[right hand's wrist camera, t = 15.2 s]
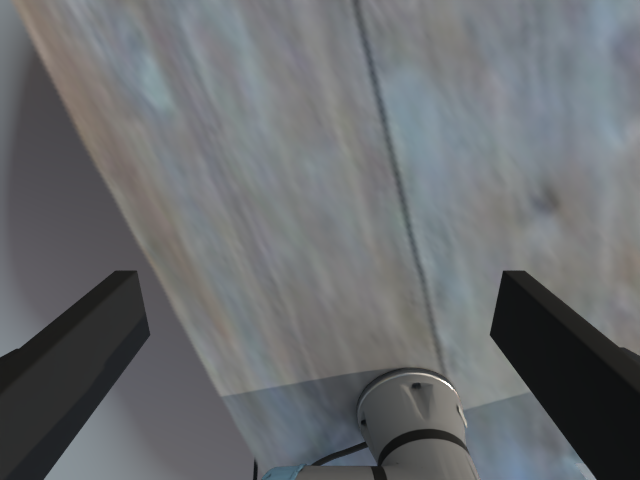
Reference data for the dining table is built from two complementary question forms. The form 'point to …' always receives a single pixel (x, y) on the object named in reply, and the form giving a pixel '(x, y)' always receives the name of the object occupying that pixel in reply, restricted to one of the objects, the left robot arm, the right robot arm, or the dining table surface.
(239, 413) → the dining table surface
